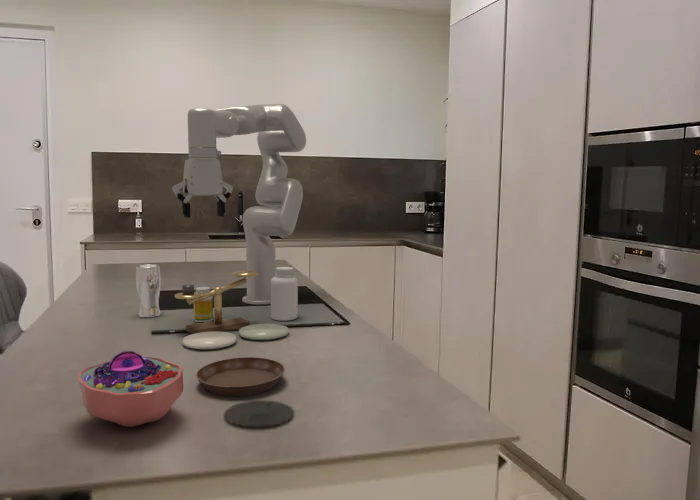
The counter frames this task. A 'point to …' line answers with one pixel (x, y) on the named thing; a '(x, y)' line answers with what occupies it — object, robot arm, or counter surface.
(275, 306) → the pill bottle
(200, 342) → the cream dish
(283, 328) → the pale green dish
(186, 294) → the brass balance
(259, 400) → the counter surface
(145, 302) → the beer glass
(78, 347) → the counter surface
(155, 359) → the cell model
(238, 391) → the plant saucer
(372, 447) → the counter surface
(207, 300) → the supplement bottle
